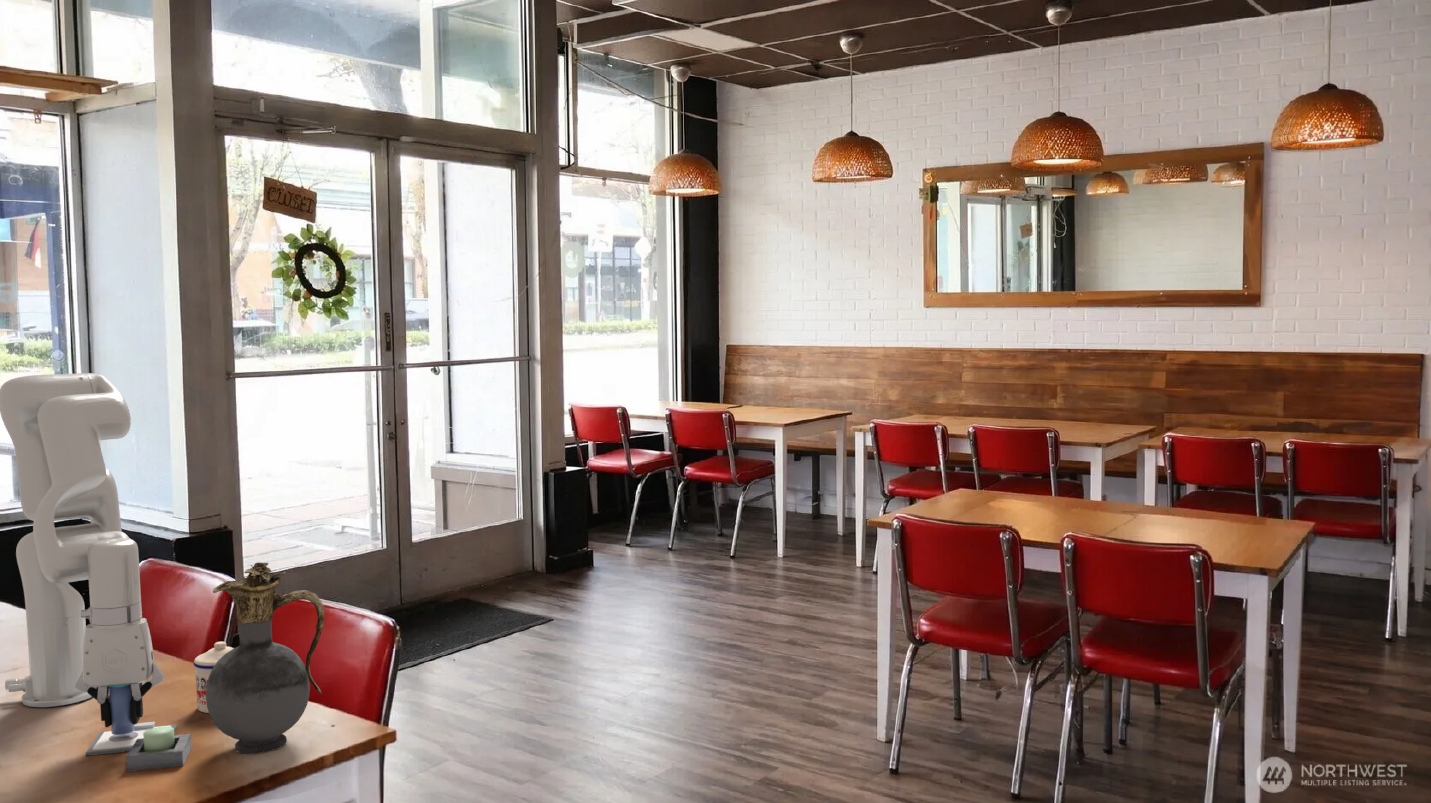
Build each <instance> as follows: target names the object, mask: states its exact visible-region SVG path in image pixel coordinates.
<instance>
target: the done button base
mask: <svg viewBox="0 0 1431 803" xmlns="http://www.w3.org/2000/svg"><path fill="white" fill-rule="evenodd" d="M174 740H175V748H174V749H167V750H157V751H147V752H144V738H142V739H137V740H136V742H135V743H134V745H133V747H132V748H131V750H130V751H128V752H127V755H126V770H127V771H126V772H128V773H129V772H139V771H146V770H147V771H148V770H158V769H164V768H166V769H167V768H176V767H184V766H185V763H186V761H187V758H188V756H189V754H190V752H191V750H192V734H191V733H183V734H174Z"/></svg>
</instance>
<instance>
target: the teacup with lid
mask: <svg viewBox="0 0 1431 803" xmlns="http://www.w3.org/2000/svg"><path fill="white" fill-rule="evenodd" d="M213 646H214V647H212V648H211V649H209V650H208V651H206V652H204V653H202V654H198V656H196V657H195V659H194V660H193V666H194V668H195V669H194V670H195V686H196V687H195V688H196V689H195V691H196V707H197V710H198V711H199V712H202V713H205V714H209V711H208V708H207V703H206V686H207V682H208V678H209V675H210V673H211V671H212V669H213V667H214V666H215V664H216V663H217V661H218V660H219V659H220V658H221V657H222V656H223V655H225V654H226V653H228V652H229V651H230V650H232V649H234V648H235V647H232V646H227V642H225V641H216V642H215V643H214V644H213Z"/></svg>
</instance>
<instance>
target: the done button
mask: <svg viewBox="0 0 1431 803" xmlns="http://www.w3.org/2000/svg"><path fill="white" fill-rule="evenodd" d="M155 727H156V726H155ZM174 735H175V733H174V728H172V727H156V728H152V729H149V730H147V731H145V732H144V733H143V736H144V752H147V751H157V750H167V749H174V748H175V740H174Z"/></svg>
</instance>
